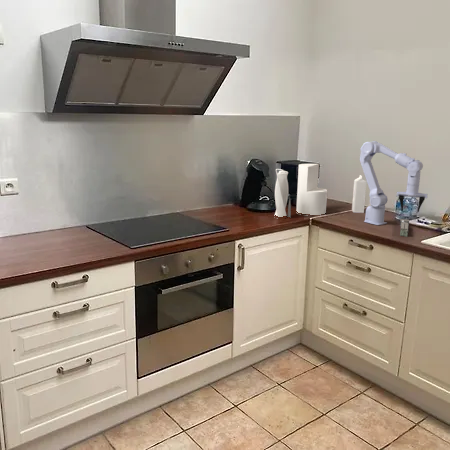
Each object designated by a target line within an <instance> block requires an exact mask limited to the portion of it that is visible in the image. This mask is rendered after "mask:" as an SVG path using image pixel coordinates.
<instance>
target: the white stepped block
mask: <svg viewBox="0 0 450 450" xmlns="http://www.w3.org/2000/svg"><path fill="white" fill-rule="evenodd" d="M319 168H320V164H319V163H301V164H300V163H299V164H298V170H297V171H298V173H297V174H298V175H297V191H296V194H297V195H296V211H297V212H298V213H302V214H310V215H320V216H322V215H321V214H325V213H327V211H326V210H327V200H328V199H327V198H328V197H327V196H328V189H327V188H323V187H318V184H319ZM297 212H296V213H297ZM298 213H297V214H298ZM325 215H326V214H325Z"/></svg>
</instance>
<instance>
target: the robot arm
mask: <svg viewBox="0 0 450 450" xmlns="http://www.w3.org/2000/svg"><path fill="white" fill-rule="evenodd" d="M359 150H360V155H359V162H360V165H361V168H362V171H363V174H364V177H365V181H367V183H366V184H367V185H368V189H369V195H368V196H369V204H370V205H368V206H367V207H366V209H365V216H364V217H365V218H364V221H363V222H364V223H367V224H372V225H376V226H382V225H386V224H388V222H385V211H386V204H387V203H388V196H387V195H386V194H385V191H384V190H383V189H382V188H381V187H380V183H379V180H378V178H377V175H376V172H375V169H374V165H373V163H372V159H373V157H374V156H375V155H376V154H377V153H381V154H383V155H385V156H387V157H389V158H391V159H393V160H394V162H395V164H398V165H399V166H401V167H403V168H404V169H406V170H407V171H408V174H407V183H406V190H405V191H397V192H396V197H398V200H399V202H400V209H401V211H403V210H404V200H405V197H407V198H410V197H411V198H419V199H418V207H417V211H416V212H417V213H419V212H420V209H421V206H422V205H423V203H424V201H425V199H428V193H421V192H419V191H420V182H421V173H422V172H421V171H422V169H423V167H424V165H423V162H422V161H420V160H419V159H416V158H415V157H411V156H409V155H407V153H406V152H400V153H397V152H396V151H394V150H393V149H391V148H390V147H388V146H386V145H384V144H383V143H381V142H378V141H377V140H373V141H366V142H363V144H362V146H361V147H360V149H359Z"/></svg>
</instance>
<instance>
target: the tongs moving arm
mask: <svg viewBox="0 0 450 450" xmlns="http://www.w3.org/2000/svg"><path fill="white" fill-rule="evenodd" d="M405 223H407V222H401V226H400V233H399V235H400V236H403V237H405V236H404V228H405Z"/></svg>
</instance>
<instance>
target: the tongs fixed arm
mask: <svg viewBox="0 0 450 450" xmlns="http://www.w3.org/2000/svg"><path fill="white" fill-rule="evenodd" d="M399 220H400V222H399V226H400V227H401V222H407V223H405V227H404V236H403V237H408V233H409V227H410V219H406V218H405V219H403V218H401V219H399Z"/></svg>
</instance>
